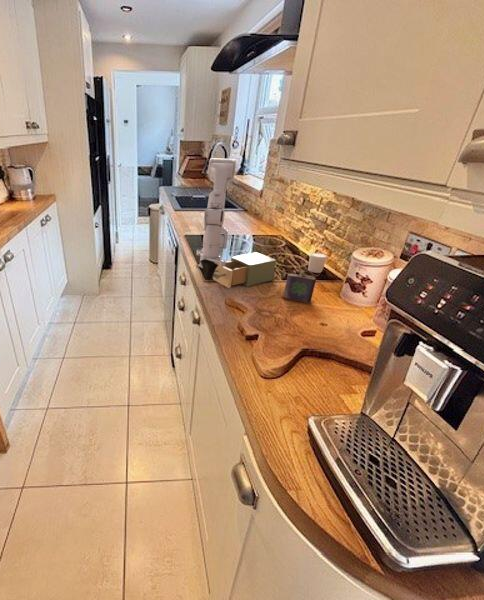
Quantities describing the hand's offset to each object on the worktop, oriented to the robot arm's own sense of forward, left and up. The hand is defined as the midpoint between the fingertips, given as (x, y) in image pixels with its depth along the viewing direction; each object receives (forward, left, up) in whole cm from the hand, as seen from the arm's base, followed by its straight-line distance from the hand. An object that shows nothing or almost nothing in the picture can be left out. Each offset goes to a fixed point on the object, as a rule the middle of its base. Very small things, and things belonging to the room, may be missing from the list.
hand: (208, 279), depth 120 cm
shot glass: (+6, +54, -4) cm, 54 cm away
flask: (+22, +23, -4) cm, 32 cm away
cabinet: (0, +22, -4) cm, 22 cm away
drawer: (0, +10, -3) cm, 10 cm away
